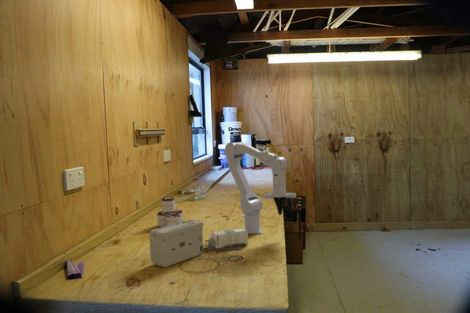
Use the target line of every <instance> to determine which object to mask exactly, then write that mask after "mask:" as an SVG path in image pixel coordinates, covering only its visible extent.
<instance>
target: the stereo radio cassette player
mask: <svg viewBox="0 0 470 313" xmlns="http://www.w3.org/2000/svg"><path fill="white" fill-rule="evenodd" d="M162 214H164V213H162ZM165 215H167V214H165ZM168 216H170V215H168ZM170 217H172V218H175V217H173V216H170ZM175 219H177V220H180V221H183V222H180V223H176V224H173V225H169V226H165V227H161V228H159V227H157V228H154V229H150V231H149V250H150V253H149V254H150V261H151V264H153V265H155V266H159V267H161V268H164V269H166V268H167V267H170V266H173V265H175V264H179V263H181V262H184V261H186V260H188V259H192V258H195V257H197V256H199V255H200V256H201V255H203V251H204V237H203V236H204V235H203V234H204V233H203V231H204V230H203V227H204V222H203V221H201V220H194V219H189V220H184V219H183V220H181V219H178V218H175Z"/></svg>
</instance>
